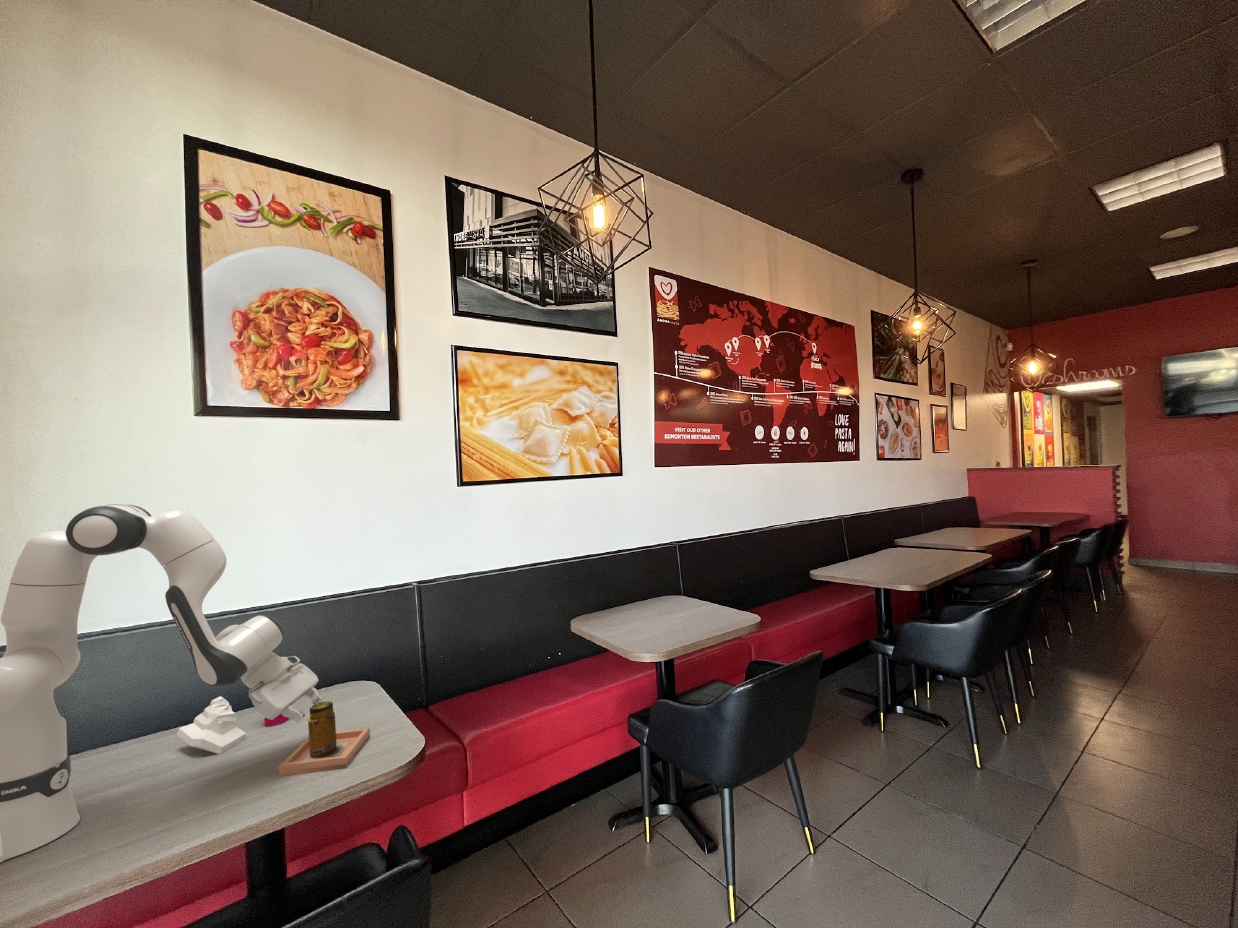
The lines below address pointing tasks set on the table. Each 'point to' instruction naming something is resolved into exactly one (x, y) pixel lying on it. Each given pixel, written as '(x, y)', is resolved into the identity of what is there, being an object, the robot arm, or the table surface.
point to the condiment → (323, 732)
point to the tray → (298, 766)
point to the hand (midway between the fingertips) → (311, 710)
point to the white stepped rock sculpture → (213, 728)
